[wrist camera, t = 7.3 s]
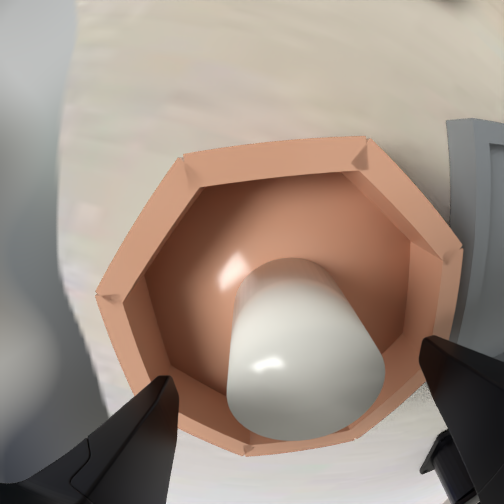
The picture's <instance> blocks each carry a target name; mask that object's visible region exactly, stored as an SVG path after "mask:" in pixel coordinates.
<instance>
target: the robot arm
mask: <svg viewBox="0 0 504 504" xmlns="http://www.w3.org/2000/svg"><path fill="white" fill-rule="evenodd" d="M419 365H420V367H421V370H422V372H423V375H424V377H425V380H426V382H427V385H428V387H429V390H430V392H431V395H432V397H433V399H434V401H435V404H436V406H437V407H438V409H439V411H440V413H441V415H442V417H443V419H444V421H445V423H446V425H447V427H448V429H449V431H447V432H445V433H442V434H441V435H439V436H438V437H437V439H436V441H435V443H434V444H433V446H432V448H431V450H430V452H429V454H428V456H427V458H426V460H425V462H424V463H423V465H422V467H421V469H420V473H421V474H425V473H427V472H429V471H432V470H434V469H435V471H436V473H437V475H438V477H439V479H440V481H441V483H442V486H443V488H444V490H445V492H446V494H447V496H448V498H449V500H450V503H451V504H476V503H477V502H478V501H480V502H479V503H477V504H504V362H503V361H500V360H498V359H495V358H493V357H490V356H487V355H485V354H482V353H480V352H477V351H474V350H472V349H469V348H467V347H464V346H461V345H459V344H456V343H454V342H451V341H449V340H446V339H444V338H441V337H438V336H436V335H431V336H428V337H425V338H423V340H422V343H421V348H420V353H419ZM178 414H179V394H178V391H177V388H176V386H175V383H174V380H173V378H172V376H170V375H159V376H157V377H156V378H155V379H154V380H153V381H151V382H150V383H149V384H148V385H147V386H146V387H145V388H143V389H142V390H141V391H140V392H139V393H138V394H137V395H135V396H134V397H133V398H132V399H131V400H130V401H129V402H127V403H126V404H125V405H124V406H123V407H122V408H120V409H119V410H118V411H117V412H116V413H115V414H114V415H112V416H111V417H110V418H109V419H108V420H107V421H106V422H104V423H103V424H102V425H101V426H100V427H98V428H97V429H96V430H95V431H94V432H92V433H91V434H90V435H89V436H88V438H85V439H84V440H83V441H82V442H80V443H79V444H78V445H77V446H76V447H74V448H73V449H72V450H70V451H69V452H68V453H66V454H65V455H63V456H62V457H61V458H59V459H58V460H56V461H55V462H53V463H52V464H50V465H49V466H47V467H45V468H44V469H42V470H41V471H39V472H38V473H36V474H34V475H33V476H31V477H30V478H28V479H26V480H24V481H21V482H17V483H0V504H166V499H167V493H168V487H169V481H170V476H171V470H172V464H173V459H174V453H175V448H176V442H177V430H178Z"/></svg>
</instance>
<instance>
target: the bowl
mask: <svg viewBox="0 0 504 504" xmlns="http://www.w3.org/2000/svg"><path fill="white" fill-rule="evenodd" d="M183 157H184V158H177V160H176V161H175V163H174V164H173V165H172V167H171V168H170V170H169V171H168V172H167V174H166V175H165V177H164V178H163V180H162V181H161V183H160V184H159V186H158V187H157V189H156V190H155V192H154V193H153V195H152V196H151V198H150V199H149V201H148V202H147V204H146V205H145V207H144V208H143V210H142V212H141V213H140V215H139V216H138V218H137V219H136V221H135V223H134V224H133V226H132V228H131V229H130V231H129V232H128V234H127V236H126V237H125V239H124V241H123V243H122V244H121V246H120V248H119V249H118V251H117V253H116V255H115V256H114V258H113V260H112V262H111V263H110V265H109V267H108V269H107V271H106V272H105V274H104V276H103V278H102V280H101V282H100V284H99V285H98V287H97V289H96V291H95V292H96V293H97V294H96V295H95V298H96V301H97V304H98V307H99V310H100V313H101V315H102V318H103V321H104V324H105V327H106V329H107V332H108V335H109V337H110V340H111V343H112V345H113V348H114V350H115V353H116V355H117V358H118V360H119V362H120V365H121V367H122V369H123V372H124V374H125V376H126V379H127V381H128V383H129V385H130V387H131V390H132V392H133V394H134V396H135V395H137V394H138V393H139V392H140V391H141V390H142V389H143V388H145V387H146V386H147V385H148V384H149V383H150V382H151V381H153V380H154V379H155V378H156V377H157V376H159V375H170V376H172V378H173V380H174V383H175V386H176V388H177V391H178V394H179V414H178V428H179V429H181V430H183V431H185V432H187V433H189V434H191V435H193V436H195V437H198V438H200V439H202V440H204V441H206V442H209V443H211V444H213V445H216V446H218V447H220V448H223V449H225V450H228V451H230V452H233V453H235V454H238V455H240V456H243V455H245V456H246V457H248V456H260V455H271V454H280V453H288V452H295V451H302V450H308V449H314V448H320V447H326V446H331V445H336V444H340V443H345V442H349V441H354V438H356V439H358V438H359V437H361V436H362V435H363V434H365V433H366V432H367V431H369V430H370V429H371V428H373V427H374V426H375V425H376V424H378V423H379V422H380V421H381V420H383V419H384V418H385V417H386V416H388V415H389V414H390V413H391V412H392V411H394V410H395V409H396V408H397V407H398V406H399V405H401V404H402V403H403V402H404V401H405V400H406V399H407V398H408V397H410V396H411V395H412V394H413V393H414V392H415V391H416V390H417V389H418V388H419V387H420V386H421V385H422V384H423V383H425V382H426V380H425V377H424V375H423V372H422V370H421V367H420V365H419V353H420V348H421V343H422V340H423V338H425V337H428V336H431V335H436V336H438V337H441V338H444V339H446V340H449V337H450V332H451V328H452V323H453V318H454V313H455V308H456V302H457V296H458V290H459V283H460V276H461V268H462V259H463V248H461V246H462V243H461V242H460V241H459V239H458V238H457V236H456V235H455V234H454V232H453V231H452V230H451V228H450V227H449V226H448V224H447V223H446V222H445V220H444V219H443V218H442V217H441V215H440V214H439V213H438V212H437V210H436V209H435V208H434V207H433V205H432V204H431V203H430V202H429V201H428V199H427V198H426V197H425V196H424V195H423V193H422V192H421V191H420V190H419V189H418V188H417V186H416V185H415V184H414V183H413V182H412V181H411V180H410V179H409V177H408V176H407V175H406V174H405V173H404V172H403V171H402V170H401V169H400V168H399V167H398V165H397V164H396V163H395V162H394V161H393V160H392V159H391V158H390V157H389V156H388V155H387V154H386V153H385V152H384V151H383V150H382V149H381V148H380V147H379V146H378V145H377V144H376V143H375V142H374V141H373V140H372V139H371V138H369V139H366V136H350V137H327V138H310V139H297V140H285V141H274V142H265V143H256V144H247V145H239V146H232V147H225V148H218V149H211V150H205V151H199V152H193V153H187V154H183ZM281 258H301V259H306V260H309V261H312V262H314V263H316V264H318V265H320V266H321V267H323V268H324V269H325V270H326V271H327V272H328V273H329V274H330V275H331V276H332V277H333V279H334V280H335V282H336V283H337V285H338V286H339V288H340V289H341V291H342V292H343V294H344V296H345V297H346V299H347V300H348V302H349V303H350V305H351V306H352V308H353V309H354V311H355V313H356V314H357V316H358V317H359V319H360V321H361V322H362V324H363V325H364V327H365V328H366V330H367V332H368V333H369V335H370V337H371V338H372V340H373V341H374V343H375V345H376V346H377V348H378V350H379V351H380V353H381V355H382V357H383V360H384V364H385V380H384V383H383V387H382V389H381V392H380V394H379V396H378V397H377V399H376V401H375V402H374V403H373V405H372V406H371V407H370V408H369V409H368V410H367V411H366V412H365V413H364V414H363V415H362V416H361V417H360V418H358V419H357V420H356V421H354V422H353V423H351V424H350V425H348V426H346V427H345V428H343V429H341V430H339V431H337V432H334V433H332V434H329V435H326V436H323V437H319V438H314V439H309V440H301V441H284V440H276V439H271V438H267V437H264V436H261V435H258V434H256V433H254V432H252V431H250V430H249V429H247V428H245V427H244V426H243V425H242V424H241V423H239V422H238V421H237V419H236V418H235V417H234V416H233V414H232V412H231V411H230V408H229V406H228V402H227V380H228V367H229V355H230V343H231V332H232V320H233V309H234V301H235V296H236V293H237V291H238V289H239V287H240V285H241V283H242V282H243V281H244V279H245V278H246V277H247V276H248V275H249V274H250V273H251V272H252V271H253V270H255V269H256V268H258V267H259V266H261V265H263V264H265V263H267V262H269V261H273V260H276V259H281Z"/></svg>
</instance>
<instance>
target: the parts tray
mask: <svg viewBox="0 0 504 504" xmlns="http://www.w3.org/2000/svg"><path fill="white" fill-rule="evenodd" d="M446 124H447V134H448V145H449V159H450V185H451V210H450V228H451V230H452V231H453V232H454V234H455V235H456V236H457V238H458V239H459V241H460V242H461V243H462V246H461V248H463V259H462V268H461V276H460V283H459V290H458V296H457V302H456V308H455V313H454V318H453V323H452V328H451V332H450V337H449V341H451V342H454V343H456V344H459V345H461V346H464V347H467V348H469V349H472V350H474V351H477V352H480V353H482V354H485V355H487V356H490V357H493V358H495V359H498V360H500V361H503V362H504V124H503V123H498V122H493V121H487V120H481V119H475V118H468V119H457V120H447V121H446ZM425 384H426V385H427V382H425ZM427 387H428V385H427ZM428 388H429V387H428Z"/></svg>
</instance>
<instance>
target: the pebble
mask: <svg viewBox="0 0 504 504" xmlns="http://www.w3.org/2000/svg"><path fill="white" fill-rule="evenodd" d="M384 380H385V364H384V360H383V357H382V355H381V353H380V351H379V350H378V348H377V346H376V345H375V343H374V341H373V340H372V338H371V337H370V335H369V333H368V332H367V330H366V328H365V327H364V325H363V324H362V322H361V321H360V319H359V317H358V316H357V314H356V313H355V311H354V309H353V308H352V306H351V305H350V303H349V302H348V300H347V299H346V297H345V296H344V294H343V292H342V291H341V289H340V288H339V286H338V285H337V283H336V282H335V280H334V279H333V277H332V276H331V275H330V274H329V273H328V272H327V271H326V270H325V269H324V268H323V267H321V266H320V265H318V264H316V263H314V262H312V261H309V260H306V259H301V258H281V259H276V260H273V261H269V262H267V263H265V264H263V265H261V266H259V267H258V268H256V269H255V270H253V271H252V272H251V273H250V274H249V275H248V276H247V277H246V278H245V279H244V281H243V282H242V283H241V285H240V287H239V289H238V291H237V293H236V296H235V301H234V309H233V320H232V332H231V343H230V355H229V367H228V380H227V402H228V406H229V408H230V411H231V412H232V414H233V416H234V417H235V418H236V419H237V421H238V422H239V423H241V424H242V425H243V426H244V427H245V428H247V429H249V430H250V431H252V432H254V433H256V434H258V435H261V436H264V437H267V438H271V439H276V440H284V441H301V440H309V439H314V438H319V437H323V436H326V435H329V434H332V433H334V432H337V431H339V430H341V429H343V428H345V427H346V426H348V425H350V424H351V423H353V422H354V421H356V420H357V419H358V418H360V417H361V416H362V415H363V414H364V413H365V412H366V411H367V410H368V409H369V408H370V407H371V406H372V405H373V403H374V402H375V401H376V399H377V397H378V396H379V394H380V392H381V389H382V387H383V383H384Z"/></svg>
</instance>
